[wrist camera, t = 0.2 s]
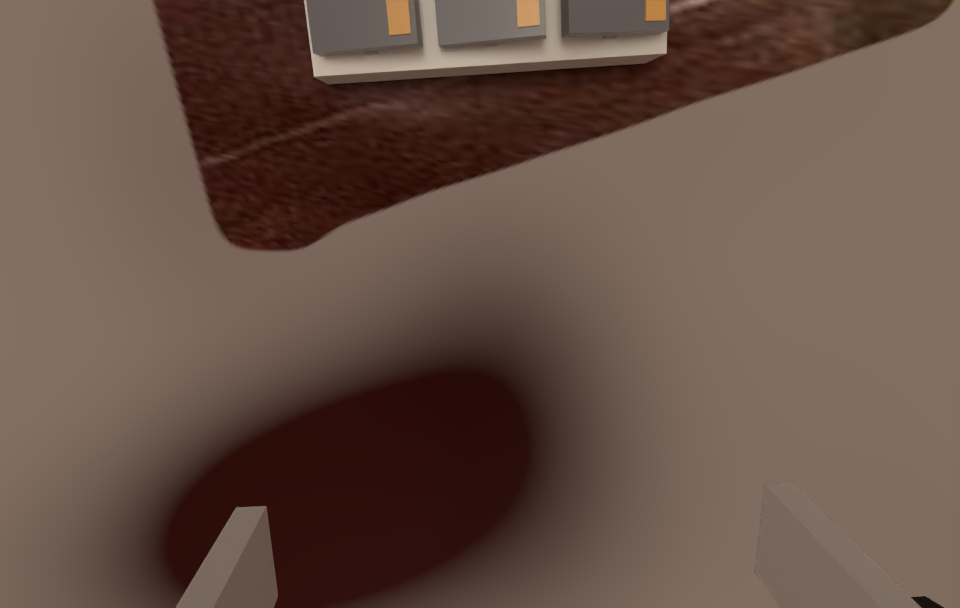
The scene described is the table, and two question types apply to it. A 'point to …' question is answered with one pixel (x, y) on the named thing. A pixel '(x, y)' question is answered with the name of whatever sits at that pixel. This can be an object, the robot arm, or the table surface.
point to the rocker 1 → (363, 25)
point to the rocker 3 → (613, 17)
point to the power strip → (486, 54)
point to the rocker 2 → (489, 21)
